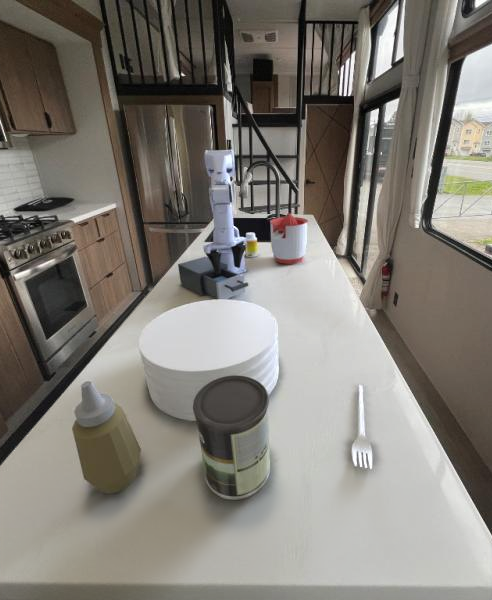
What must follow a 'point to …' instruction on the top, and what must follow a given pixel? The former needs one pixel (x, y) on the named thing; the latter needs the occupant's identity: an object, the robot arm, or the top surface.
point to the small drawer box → (196, 273)
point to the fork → (361, 437)
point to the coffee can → (233, 435)
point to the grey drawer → (223, 284)
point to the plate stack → (206, 350)
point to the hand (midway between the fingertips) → (227, 270)
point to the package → (220, 278)
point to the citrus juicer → (288, 239)
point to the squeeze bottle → (105, 442)
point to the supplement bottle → (251, 245)
